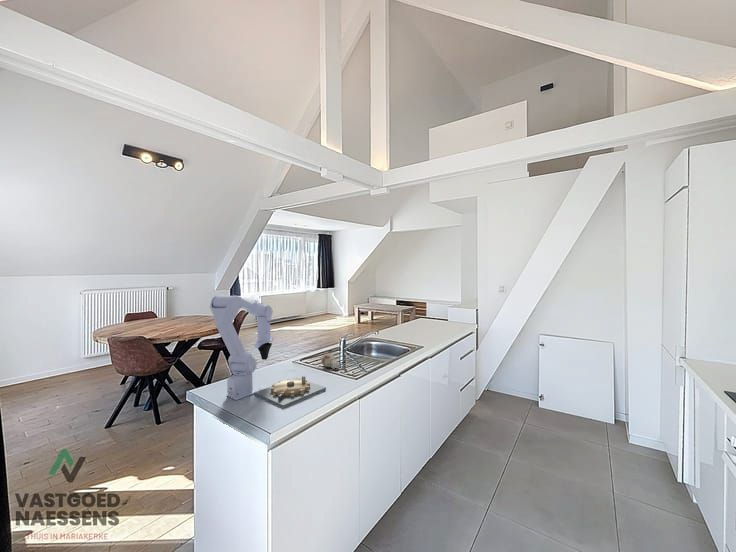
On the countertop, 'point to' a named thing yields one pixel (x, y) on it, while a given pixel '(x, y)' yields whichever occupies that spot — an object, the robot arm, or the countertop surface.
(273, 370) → the countertop surface
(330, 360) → the beige rounded lump
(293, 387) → the sprocket
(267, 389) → the base board
